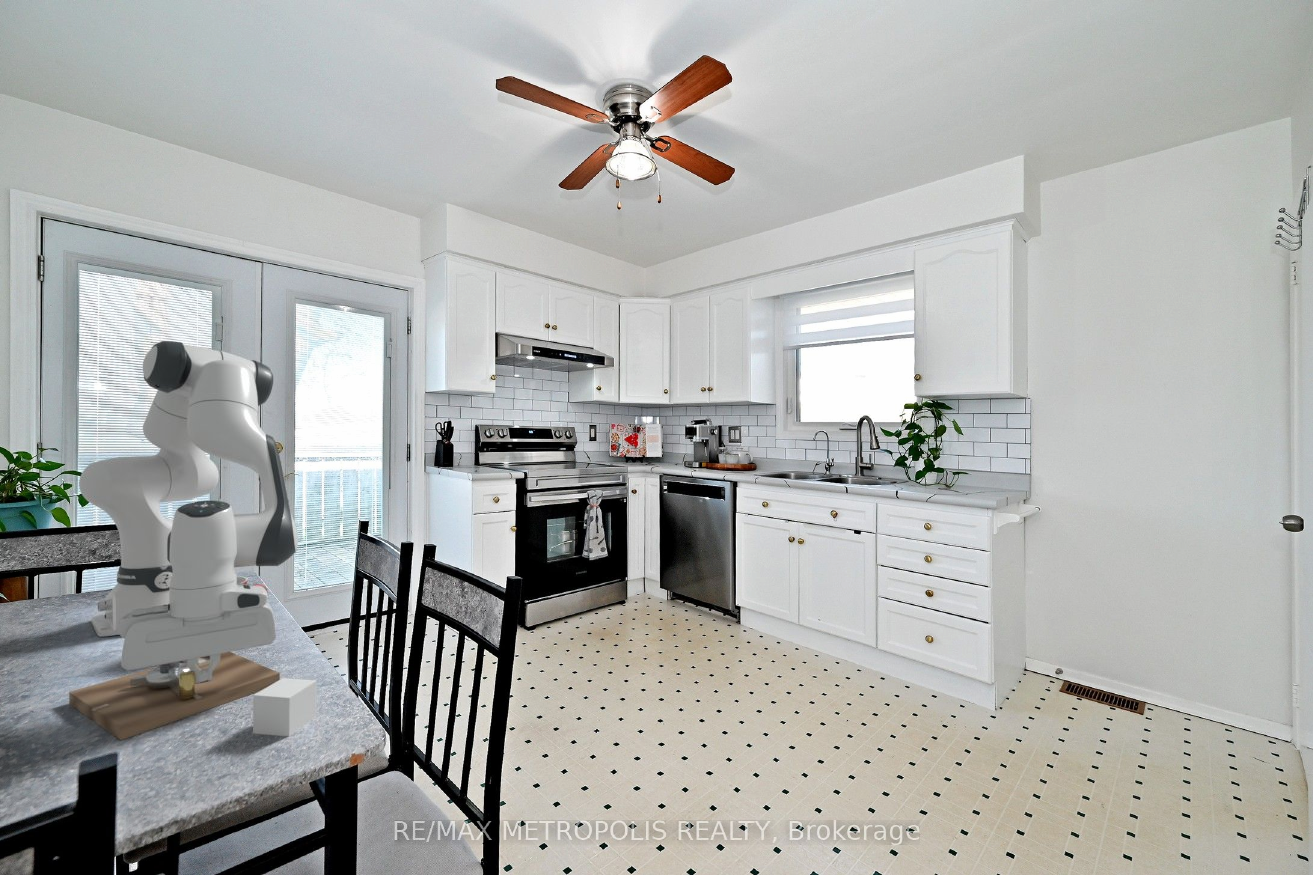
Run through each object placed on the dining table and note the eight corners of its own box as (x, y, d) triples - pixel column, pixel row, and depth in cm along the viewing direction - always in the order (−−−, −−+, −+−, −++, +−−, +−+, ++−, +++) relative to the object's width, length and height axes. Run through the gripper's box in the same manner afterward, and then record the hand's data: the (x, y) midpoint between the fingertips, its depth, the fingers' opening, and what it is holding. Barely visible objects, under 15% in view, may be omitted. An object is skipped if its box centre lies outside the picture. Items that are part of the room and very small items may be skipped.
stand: (64, 703, 95) (64, 676, 95) (220, 657, 114) (220, 635, 114) (118, 741, 84) (118, 711, 84) (279, 683, 103) (279, 659, 103)
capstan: (128, 684, 97) (129, 655, 97) (197, 667, 104) (197, 639, 104) (151, 709, 89) (151, 677, 89) (223, 688, 96) (223, 658, 96)
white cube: (282, 714, 93) (283, 677, 93) (316, 717, 92) (317, 680, 92) (252, 733, 87) (253, 694, 87) (289, 737, 86) (289, 697, 86)
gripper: (116, 616, 86) (116, 707, 87) (277, 593, 99) (277, 672, 100) (120, 606, 91) (120, 691, 91) (273, 585, 104) (273, 660, 104)
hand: (203, 681), depth 96 cm, fingers closed
